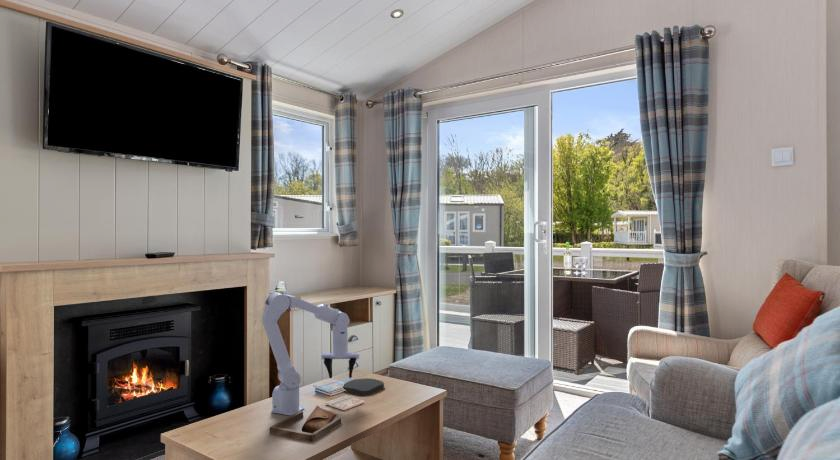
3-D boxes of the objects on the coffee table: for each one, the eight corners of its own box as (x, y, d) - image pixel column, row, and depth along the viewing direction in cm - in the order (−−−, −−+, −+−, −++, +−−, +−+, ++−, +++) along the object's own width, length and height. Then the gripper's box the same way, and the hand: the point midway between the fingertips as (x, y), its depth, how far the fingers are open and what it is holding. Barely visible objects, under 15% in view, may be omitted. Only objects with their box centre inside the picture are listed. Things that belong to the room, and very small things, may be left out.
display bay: (269, 433, 166) (269, 427, 166) (300, 416, 181) (300, 411, 181) (313, 441, 159) (312, 435, 159) (341, 423, 174) (341, 417, 174)
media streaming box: (365, 397, 202) (365, 390, 202) (338, 391, 210) (338, 384, 210) (387, 388, 214) (387, 380, 214) (361, 382, 222) (361, 375, 222)
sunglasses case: (327, 433, 165) (316, 416, 165) (309, 444, 165) (298, 427, 165) (337, 413, 183) (328, 398, 183) (321, 423, 183) (311, 407, 183)
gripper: (319, 345, 192) (319, 380, 192) (357, 344, 192) (357, 380, 192) (323, 341, 199) (323, 375, 199) (359, 340, 199) (360, 375, 199)
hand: (340, 377), depth 196 cm, fingers open, 7 cm apart
